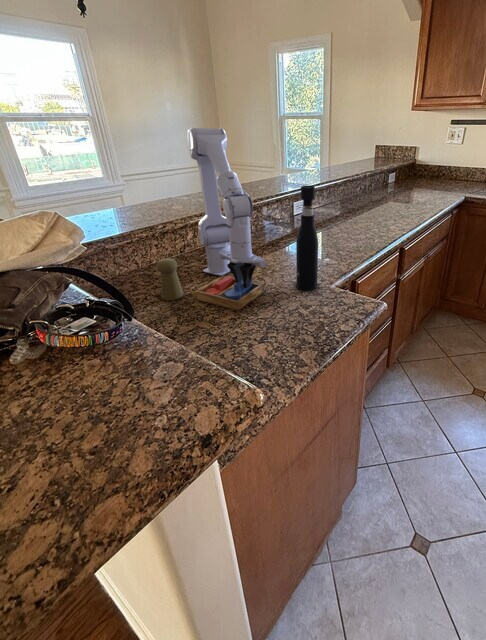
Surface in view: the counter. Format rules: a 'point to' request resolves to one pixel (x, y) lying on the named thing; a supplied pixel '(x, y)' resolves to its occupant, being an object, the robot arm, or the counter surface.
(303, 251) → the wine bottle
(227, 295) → the blue spoon
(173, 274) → the olive green pawn
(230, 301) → the wooden sorting tray
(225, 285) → the red spoon
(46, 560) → the counter surface
